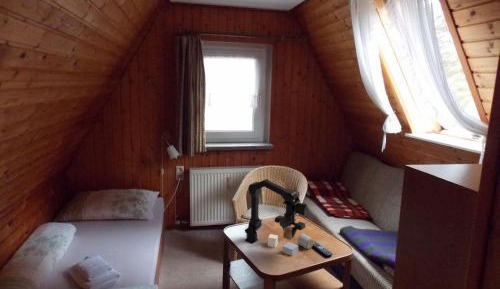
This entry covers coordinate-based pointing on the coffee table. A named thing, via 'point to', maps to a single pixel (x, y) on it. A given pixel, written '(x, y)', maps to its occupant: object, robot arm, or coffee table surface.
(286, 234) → the walnut block
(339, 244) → the coffee table surface
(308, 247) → the ceramic mug
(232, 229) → the coffee table surface
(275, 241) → the cream block
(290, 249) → the light gray block
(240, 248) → the coffee table surface
